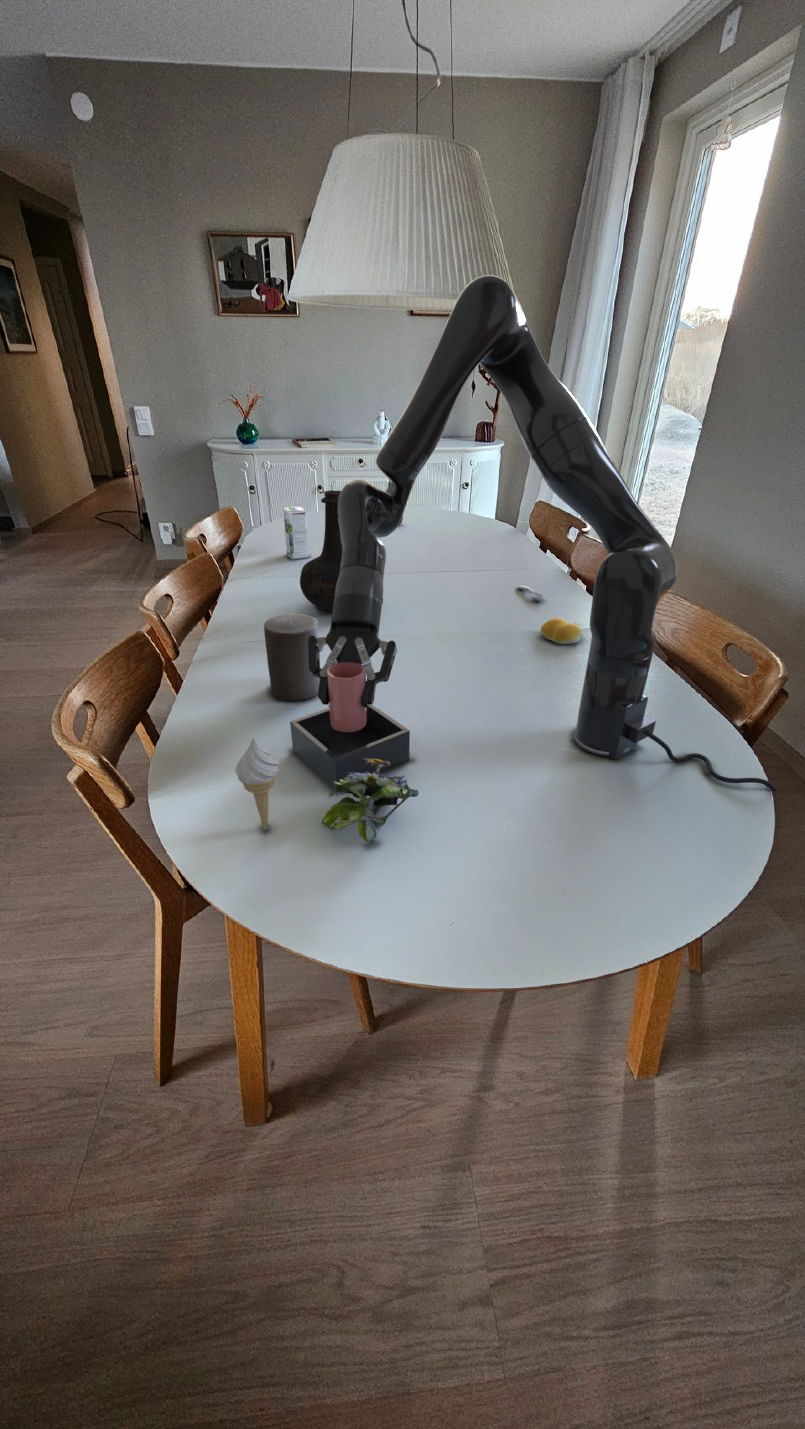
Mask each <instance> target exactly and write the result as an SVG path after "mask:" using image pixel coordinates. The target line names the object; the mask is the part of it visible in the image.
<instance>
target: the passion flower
mask: <svg viewBox="0 0 805 1429" xmlns="http://www.w3.org/2000/svg"><path fill="white" fill-rule="evenodd" d="M363 762H365V763H367V764H368V765H375V767H376V772H375V773H374V772H373V774H369V772H366V773H367V774H365V773H362V774H361V773H357V772H356V773H355V772H353V773H350V772H349V774H350V775H347V777H346V778H344V779H345V780H346V781H344V780H342V779H340V784H339V783H337V782H334V785H335V786H336V788H335V789H334V788H333V789H332V790H331V791H330V792H329V794H328V798H329V799H330V798H332V797H334V796H339V795H344V794H348V795H352V796H353V798H352V797H350V796H348V795H347V796H344V797H342V798H341V799H340V800H339V801H338V802H336V803H335V804H333V805H332V806H331V807H330V808H329V810H327V811H326V813H325V814H324V816H323V818H322V819H321V824H322V825H324V826H325V827H328V828H329V829H330V830H332V831H338V830H342V829H343V828H346V827H349V826H350V825H352V824H355V823H357V825H356V828H357V831H358V834H359V836H360V838H361V839H362V840H363V841H364V842H365V843H368V841H369V838H368V833H367V826H368V823H370V829H371V830H372V832H373V835H372V839H371V841H370V843H369V845H373V844H374V842H375V840H376V838H377V835H378V833H379V831H380V830H381V828H382V827H383V826H384V825H385V824H386V823H387V819H388V818H389V817H390V816H391V815H392V814H393V813H394V812H395V811H396V810H397V809H398V808H399V807H400V806H401V805H402V804H404V803H405V802H406V801H407V800H408V798H411V797H412V798H416V797H417V796H419V795H420V793H419V790H418V789H414V788H410V787H409V785H408V780H407V779H403V778H405V775H398V776H397V775H390V776H388V775H385V774H383V773H379V769H380V768H382V767H388V766H390V763H389V762H388V761H385V760H379V759H372V758H364V759H363ZM354 798H356V799H359V800H355V799H354ZM399 799H401V801H400V802H399V803H398V800H399ZM372 804H373V812H371V810H370V805H372ZM384 806H393V808H392V809H391V810H390V811H389V812H388V813H386V815H384V816H378V814H377V809H376V807H378V808H382V807H384ZM367 816H370V817H372V819H369V818H368V817H367Z"/></svg>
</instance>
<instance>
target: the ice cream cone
mask: <svg viewBox="0 0 805 1429" xmlns="http://www.w3.org/2000/svg"><path fill="white" fill-rule="evenodd" d="M278 765H280V762H279V761H278V759H277V758H271V753H270V752H269V751H268V750H267V749H265V748H263V747H262V745H261V744H259V742H258V741H257V740H256V739H255V738H254V737H252V739H251V741H250V743H249V746H248V747H247V749H246V750H245V752H244V754H243V755H242V756H241V758H240V759H239V761H238V762H237V764H236V766H235V768H234V772H235V774H236V776H237V779H238V781H240V783H241V784H242V785H243V788H244V789H245V791H246V792H249V793H251V794H253V798H254V801H255V806H256V809H257V812H258V816H259V818H260V822H261V827H262V829H263V830H265V831H266V830H268V829H269V803H270V802H269V799H270V798H269V791H270V790H272V789H273V788H274V787H275V785H276V778H277V777H278V776H279V771H280V769H279V767H278Z"/></svg>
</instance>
